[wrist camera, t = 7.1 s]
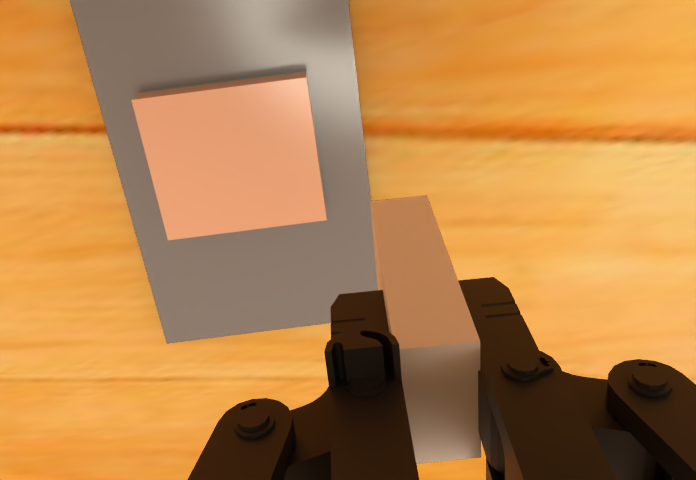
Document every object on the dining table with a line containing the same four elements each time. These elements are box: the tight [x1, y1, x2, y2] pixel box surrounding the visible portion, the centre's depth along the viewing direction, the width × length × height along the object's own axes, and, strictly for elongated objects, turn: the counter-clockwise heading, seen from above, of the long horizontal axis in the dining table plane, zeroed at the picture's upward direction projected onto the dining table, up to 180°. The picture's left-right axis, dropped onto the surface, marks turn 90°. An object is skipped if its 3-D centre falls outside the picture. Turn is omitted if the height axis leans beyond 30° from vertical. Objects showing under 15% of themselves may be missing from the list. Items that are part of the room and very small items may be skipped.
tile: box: [131, 70, 327, 240], centre depth 36 cm, size 8×2×9 cm
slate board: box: [70, 0, 378, 343], centre depth 38 cm, size 24×14×1 cm, turn 7°
